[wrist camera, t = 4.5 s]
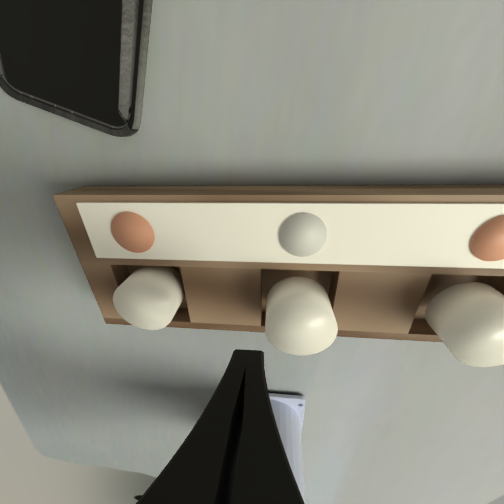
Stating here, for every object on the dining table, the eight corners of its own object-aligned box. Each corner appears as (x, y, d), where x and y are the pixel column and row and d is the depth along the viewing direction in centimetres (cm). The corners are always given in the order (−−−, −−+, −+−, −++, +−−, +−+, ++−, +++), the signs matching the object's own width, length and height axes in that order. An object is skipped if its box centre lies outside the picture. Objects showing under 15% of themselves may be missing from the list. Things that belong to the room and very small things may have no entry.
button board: (484, 319, 17) (515, 346, 15) (124, 302, 20) (105, 323, 18) (564, 184, 13) (624, 194, 11) (84, 186, 16) (52, 195, 13)
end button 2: (482, 334, 15) (518, 369, 13) (416, 330, 15) (440, 364, 13) (513, 283, 13) (561, 313, 11) (437, 280, 13) (469, 310, 11)
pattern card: (540, 267, 13) (546, 270, 12) (98, 256, 15) (95, 258, 15) (582, 203, 11) (590, 205, 11) (78, 202, 13) (74, 203, 13)
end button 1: (190, 307, 18) (177, 331, 16) (141, 304, 18) (122, 328, 16) (181, 262, 16) (166, 283, 14) (127, 261, 16) (104, 280, 14)
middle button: (324, 326, 16) (332, 357, 14) (266, 323, 16) (264, 353, 14) (332, 277, 14) (343, 304, 12) (266, 275, 14) (265, 301, 12)
